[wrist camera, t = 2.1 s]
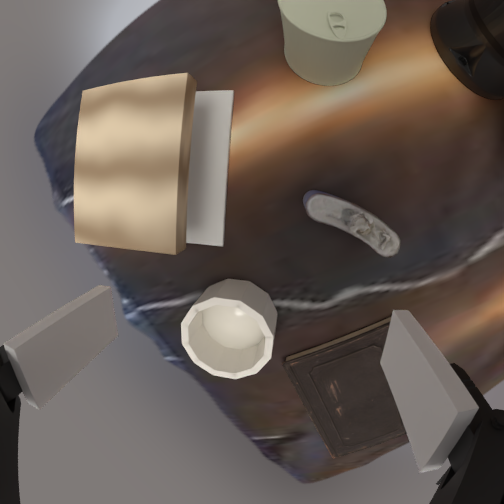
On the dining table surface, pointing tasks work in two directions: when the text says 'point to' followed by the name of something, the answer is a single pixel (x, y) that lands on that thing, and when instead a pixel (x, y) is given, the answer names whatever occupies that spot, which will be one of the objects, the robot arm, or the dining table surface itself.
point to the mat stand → (209, 167)
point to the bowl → (230, 329)
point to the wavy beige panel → (134, 164)
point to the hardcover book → (348, 390)
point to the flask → (352, 221)
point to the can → (329, 37)
